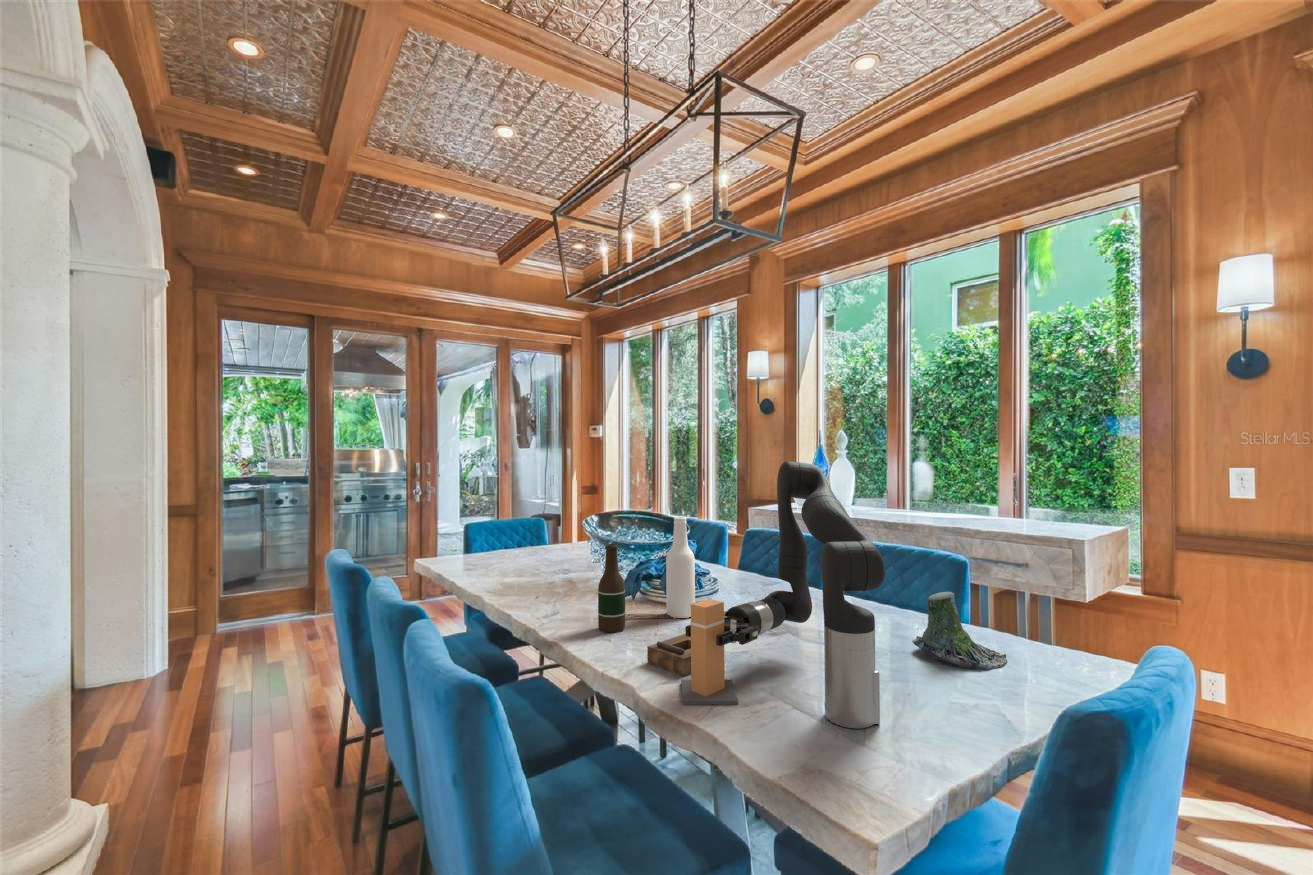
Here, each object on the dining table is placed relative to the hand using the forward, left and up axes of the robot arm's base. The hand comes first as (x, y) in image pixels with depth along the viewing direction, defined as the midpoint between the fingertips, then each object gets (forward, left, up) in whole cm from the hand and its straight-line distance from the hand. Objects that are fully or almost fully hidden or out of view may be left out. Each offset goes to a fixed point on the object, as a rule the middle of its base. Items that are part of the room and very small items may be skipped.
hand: (701, 636), depth 124 cm
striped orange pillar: (-1, -1, -12) cm, 12 cm away
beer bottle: (+23, -46, -12) cm, 53 cm away
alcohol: (+3, -60, -12) cm, 61 cm away
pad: (-1, -1, -12) cm, 12 cm away
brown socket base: (+3, -20, -12) cm, 24 cm away
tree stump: (-64, -23, -13) cm, 69 cm away
